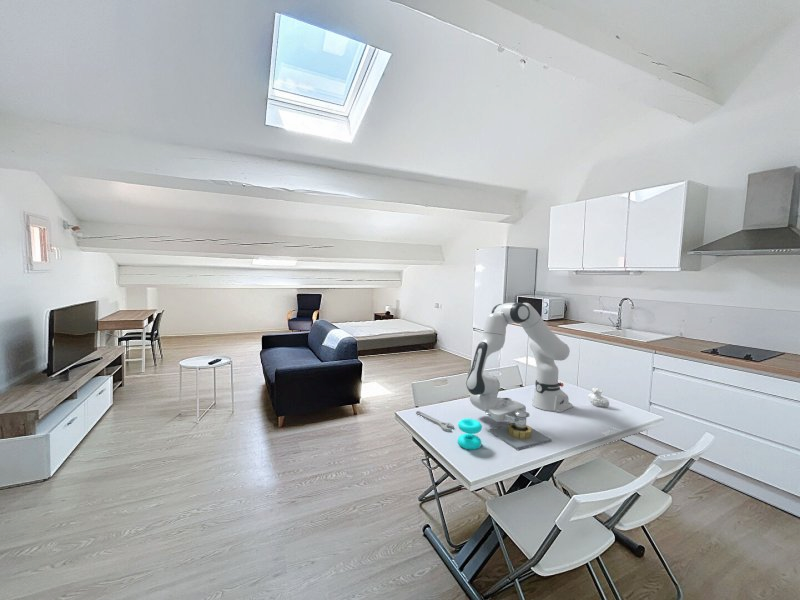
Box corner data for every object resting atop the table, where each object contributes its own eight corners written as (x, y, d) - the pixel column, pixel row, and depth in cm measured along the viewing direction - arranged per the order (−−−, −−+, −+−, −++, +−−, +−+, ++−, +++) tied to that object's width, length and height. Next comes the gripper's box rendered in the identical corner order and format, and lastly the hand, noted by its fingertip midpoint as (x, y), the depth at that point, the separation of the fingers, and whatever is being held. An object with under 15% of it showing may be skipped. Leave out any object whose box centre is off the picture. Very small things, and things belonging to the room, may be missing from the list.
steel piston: (520, 430, 155) (520, 409, 154) (528, 435, 150) (529, 413, 150) (511, 432, 153) (512, 411, 152) (519, 437, 148) (520, 415, 147)
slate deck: (521, 424, 164) (521, 422, 164) (551, 441, 147) (551, 438, 147) (489, 431, 156) (489, 429, 156) (516, 449, 139) (516, 447, 139)
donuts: (453, 420, 144) (470, 415, 149) (452, 442, 145) (470, 437, 150) (469, 429, 135) (487, 424, 140) (468, 453, 136) (486, 447, 141)
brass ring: (520, 427, 158) (520, 421, 158) (536, 436, 149) (536, 430, 149) (503, 431, 154) (503, 424, 154) (518, 441, 145) (519, 434, 145)
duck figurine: (587, 405, 195) (580, 392, 192) (595, 396, 197) (587, 383, 194) (607, 413, 184) (599, 399, 181) (614, 403, 186) (607, 389, 183)
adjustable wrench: (414, 414, 174) (414, 411, 174) (424, 412, 178) (424, 409, 178) (447, 433, 154) (447, 429, 154) (457, 430, 157) (457, 426, 157)
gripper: (482, 405, 156) (507, 415, 144) (511, 397, 167) (535, 406, 155) (482, 418, 156) (506, 430, 145) (510, 409, 167) (535, 419, 156)
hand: (521, 417), depth 150 cm, fingers open, 8 cm apart
